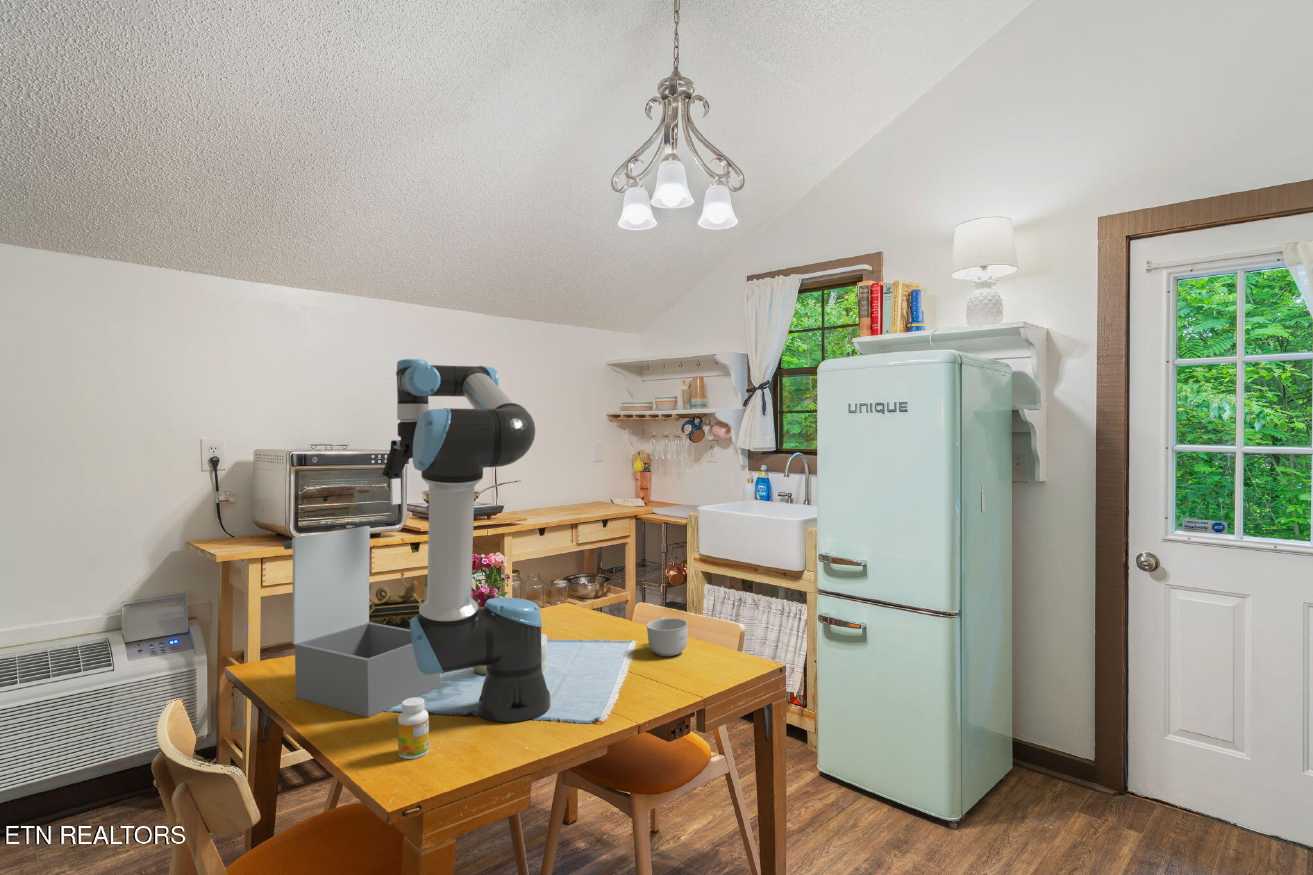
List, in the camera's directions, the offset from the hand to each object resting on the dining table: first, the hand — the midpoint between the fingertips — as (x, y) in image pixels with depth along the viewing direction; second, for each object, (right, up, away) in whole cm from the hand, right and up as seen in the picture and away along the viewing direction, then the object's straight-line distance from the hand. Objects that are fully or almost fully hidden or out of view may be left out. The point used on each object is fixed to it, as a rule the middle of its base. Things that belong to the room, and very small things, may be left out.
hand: (414, 505), depth 180 cm
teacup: (+64, -40, +10) cm, 76 cm away
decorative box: (-13, -41, +18) cm, 46 cm away
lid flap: (-15, -17, -12) cm, 26 cm away
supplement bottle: (+16, -42, -48) cm, 65 cm away
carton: (-5, -41, -17) cm, 45 cm away
